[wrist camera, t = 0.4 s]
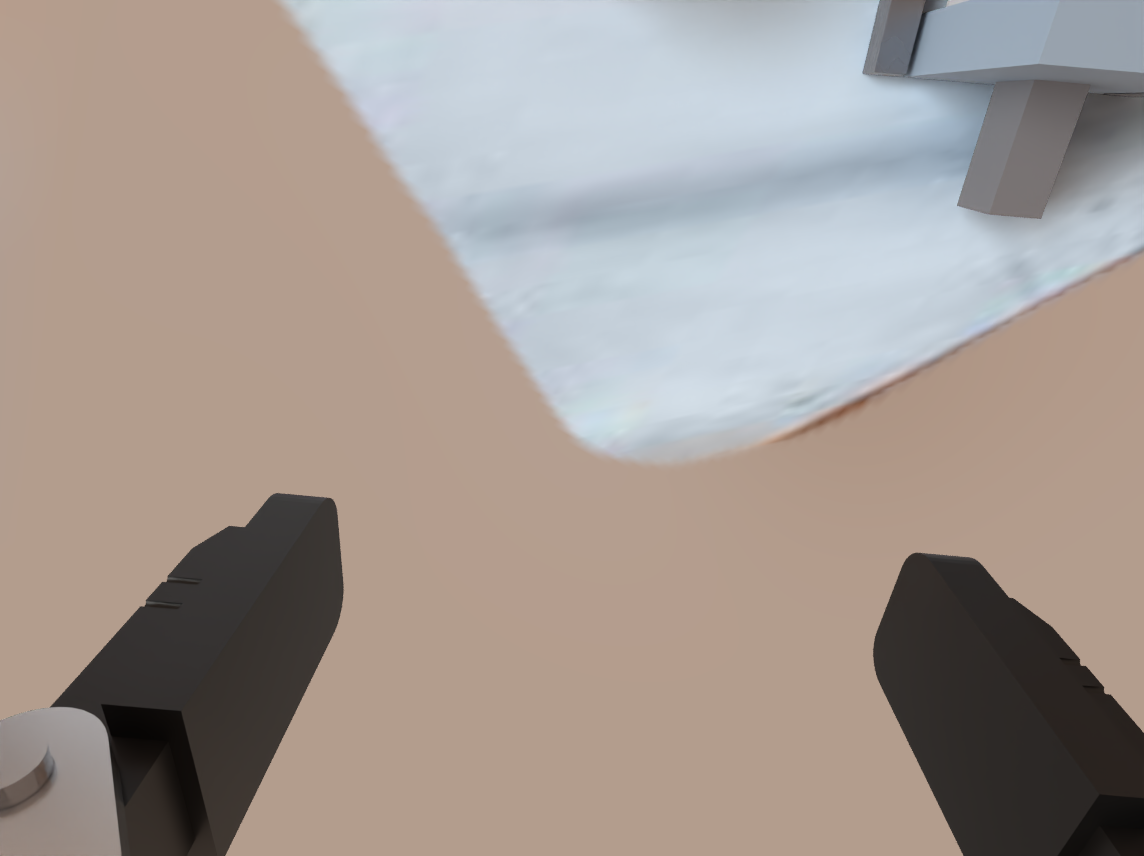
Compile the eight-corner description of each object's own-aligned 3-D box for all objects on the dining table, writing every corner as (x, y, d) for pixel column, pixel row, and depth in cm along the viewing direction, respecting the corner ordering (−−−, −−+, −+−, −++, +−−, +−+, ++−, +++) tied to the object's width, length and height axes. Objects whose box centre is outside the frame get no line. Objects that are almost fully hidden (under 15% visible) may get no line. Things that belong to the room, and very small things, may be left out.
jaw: (921, 4, 31) (1074, -44, 21) (1124, 22, 31) (1372, -18, 21) (871, 195, 35) (982, 230, 25) (1053, 210, 35) (1235, 252, 25)
